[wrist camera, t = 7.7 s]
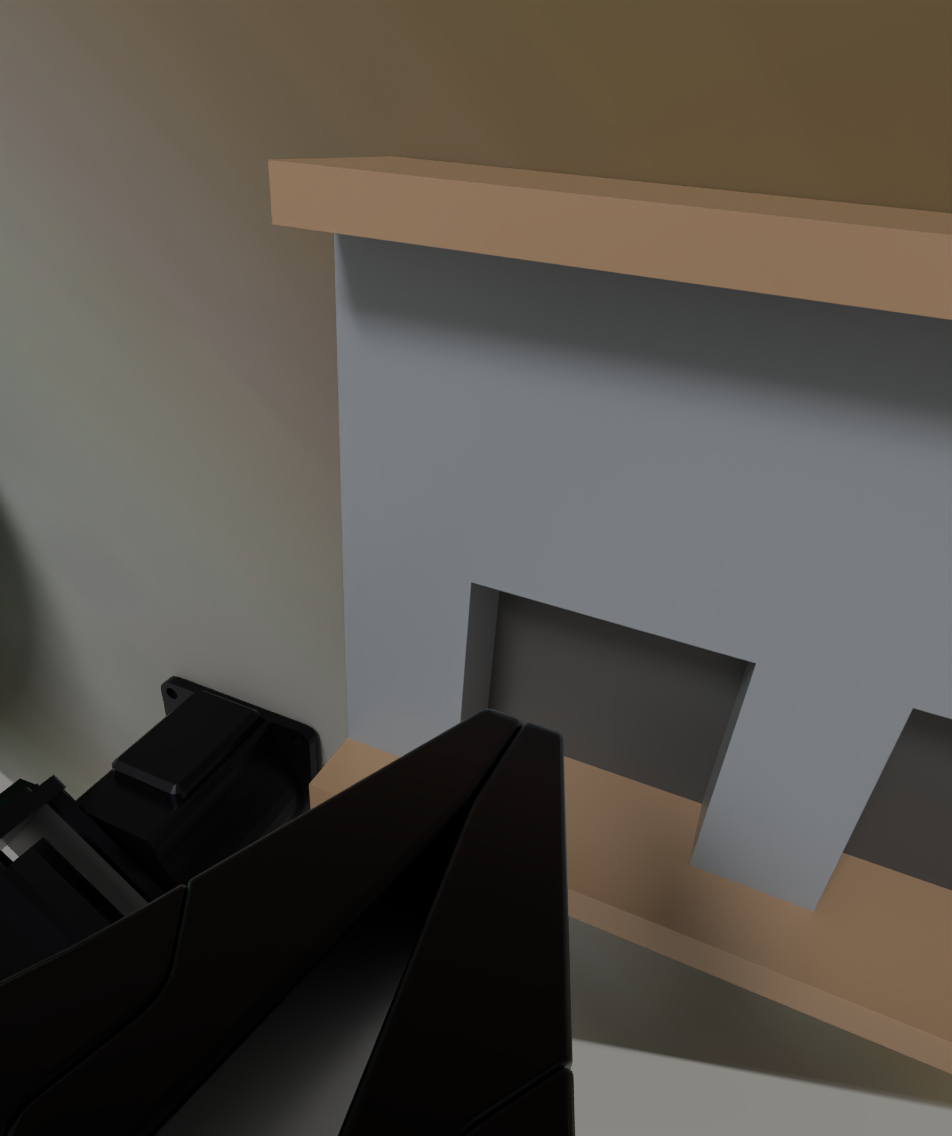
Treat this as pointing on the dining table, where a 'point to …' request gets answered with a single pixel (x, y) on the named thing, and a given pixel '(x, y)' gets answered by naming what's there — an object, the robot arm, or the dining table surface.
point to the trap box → (666, 548)
